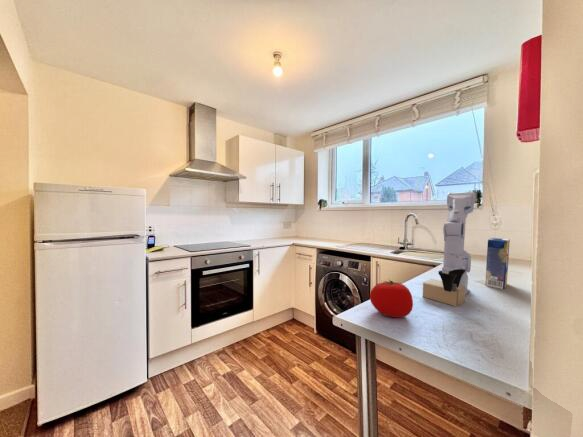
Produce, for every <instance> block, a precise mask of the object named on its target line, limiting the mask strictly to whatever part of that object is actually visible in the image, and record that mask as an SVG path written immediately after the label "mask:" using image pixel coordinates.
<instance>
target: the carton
mask: <svg viewBox="0 0 583 437" xmlns="http://www.w3.org/2000/svg"><path fill="white" fill-rule="evenodd" d="M423 283H427V284H431V285H435V286H439V287H443V283H442V280H438V279H434V278H430V279H427V280H426V281H424V282H422V284H423ZM443 288H444V287H443ZM456 291H457V303H456V306H455V307H459V306H460V305H462V304H463V303H464V302H466V294H465V286H461V285H459V286H458V288H457V287H456Z"/></svg>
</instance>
